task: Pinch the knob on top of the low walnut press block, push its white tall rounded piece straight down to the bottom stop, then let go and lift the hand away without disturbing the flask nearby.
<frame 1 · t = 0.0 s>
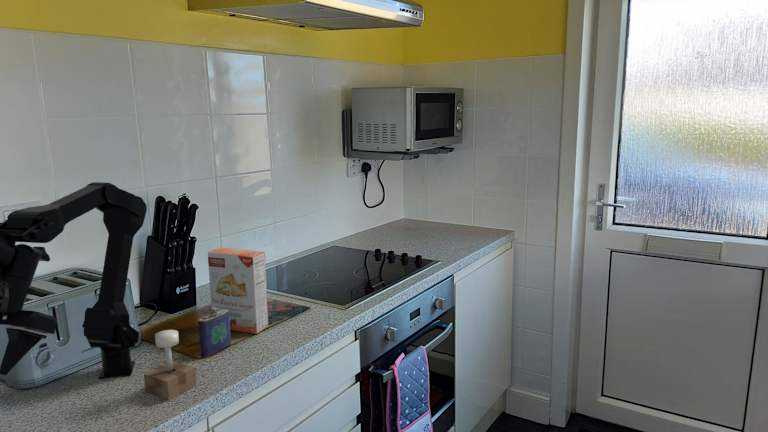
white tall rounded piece: (168, 352, 113), point 8 cm above the countertop, slide at 3.5 cm
flask: (216, 351, 133), on the countertop
cracker box: (240, 328, 147), on the countertop
press block: (171, 388, 115), on the countertop
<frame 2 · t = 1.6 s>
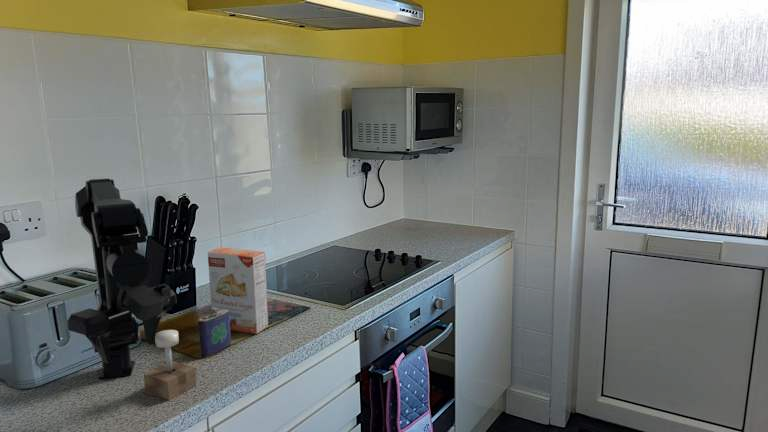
hand: (129, 352, 104), 12 cm above the countertop, tool pointing down, fingers open, 9 cm apart
nothing on the countertop moved.
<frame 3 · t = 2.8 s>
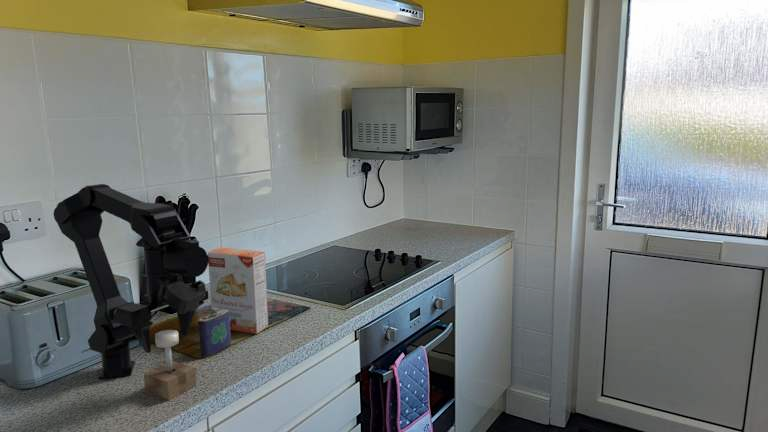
hand: (167, 343, 113), 10 cm above the countertop, tool pointing down, fingers open, 9 cm apart
nothing on the countertop moved.
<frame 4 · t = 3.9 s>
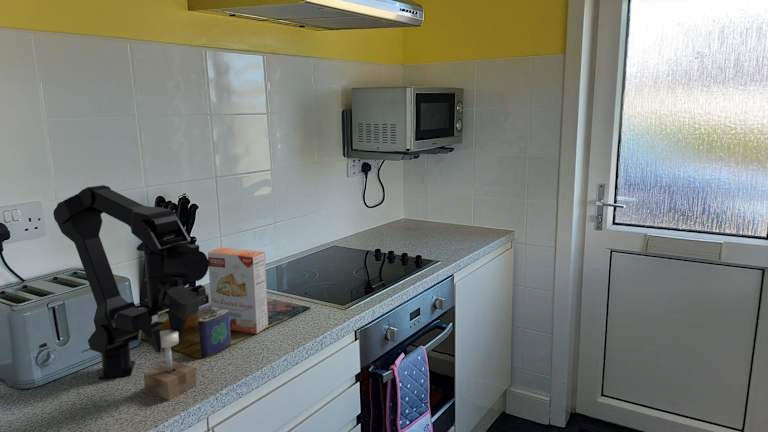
hand: (167, 347, 113), 9 cm above the countertop, tool pointing down, fingers closed on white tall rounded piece, 4 cm apart
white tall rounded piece: (168, 352, 113), point 8 cm above the countertop, slide at 3.5 cm, touching gripper
everything else where it was.
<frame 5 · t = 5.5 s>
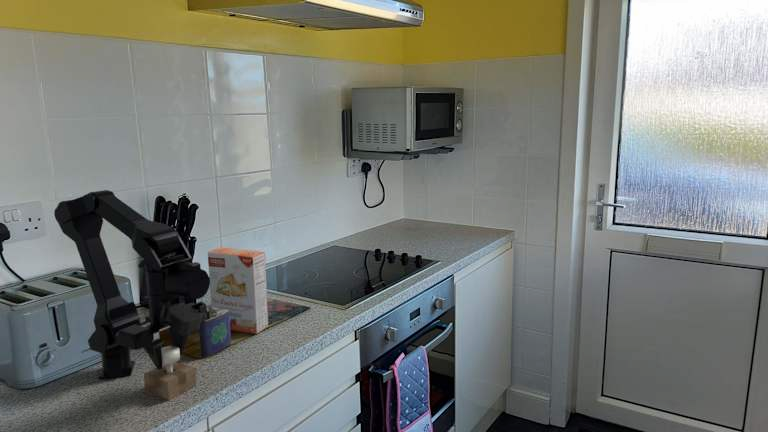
hand: (169, 364, 114), 5 cm above the countertop, tool pointing down, fingers closed on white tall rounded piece, 4 cm apart
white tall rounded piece: (169, 369, 114), point 4 cm above the countertop, slide at -0.1 cm, touching gripper
everything else where it was.
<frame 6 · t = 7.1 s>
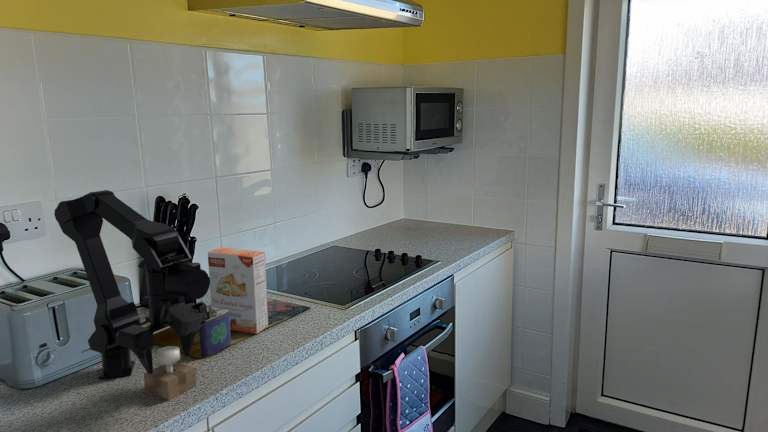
hand: (169, 364, 114), 5 cm above the countertop, tool pointing down, fingers open, 9 cm apart
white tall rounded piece: (169, 369, 114), point 4 cm above the countertop, slide at -0.1 cm
everything else where it was.
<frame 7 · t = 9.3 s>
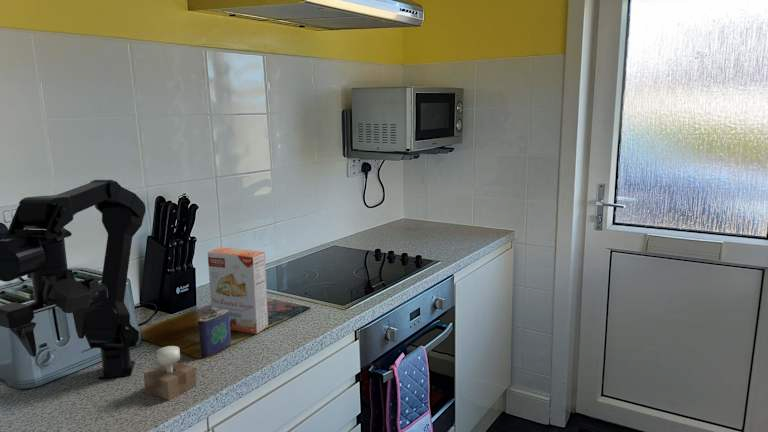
hand: (58, 346, 104), 13 cm above the countertop, tool pointing down, fingers open, 9 cm apart
nothing on the countertop moved.
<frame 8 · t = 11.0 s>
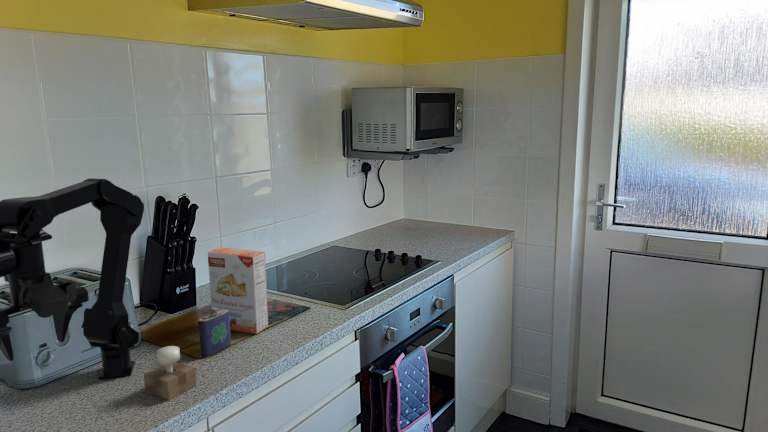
hand: (37, 350, 102), 13 cm above the countertop, tool pointing down, fingers open, 9 cm apart
nothing on the countertop moved.
at the end: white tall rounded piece slide at -0.1 cm; the gripper is holding nothing; flask moved 0.3 cm from its start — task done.
